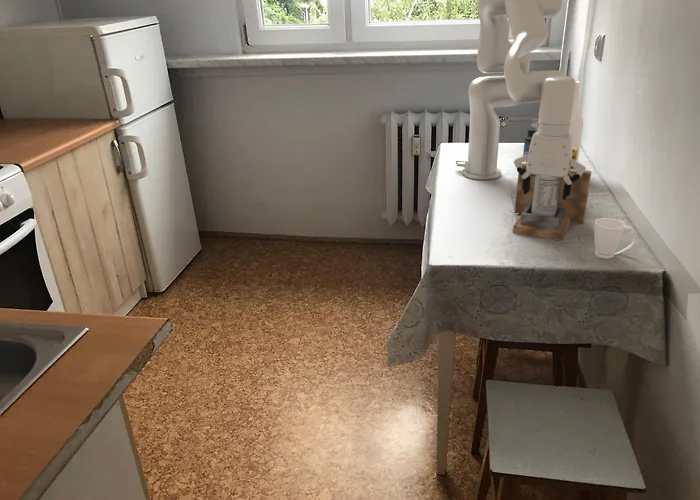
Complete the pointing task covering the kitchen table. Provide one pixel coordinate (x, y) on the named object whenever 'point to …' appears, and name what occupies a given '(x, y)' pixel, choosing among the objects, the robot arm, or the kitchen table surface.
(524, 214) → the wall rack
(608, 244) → the cup
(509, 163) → the kitchen table surface
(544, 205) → the energy drink can
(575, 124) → the alcohol
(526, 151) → the pill bottle
